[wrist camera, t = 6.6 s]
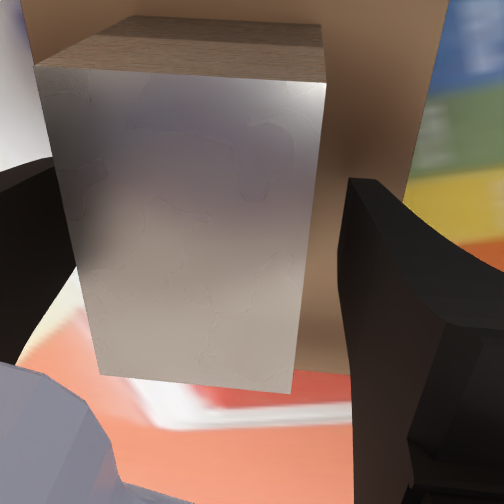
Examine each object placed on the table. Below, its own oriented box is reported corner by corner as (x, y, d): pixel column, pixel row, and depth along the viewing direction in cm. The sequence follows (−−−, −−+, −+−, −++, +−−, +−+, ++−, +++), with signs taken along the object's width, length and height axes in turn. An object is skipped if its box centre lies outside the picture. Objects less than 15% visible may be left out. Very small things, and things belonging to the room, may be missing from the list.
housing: (296, 266, 15) (290, 394, 11) (155, 254, 15) (99, 374, 11) (321, 24, 11) (326, 83, 7) (132, 14, 12) (32, 65, 7)
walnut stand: (357, 337, 19) (361, 376, 18) (114, 315, 20) (96, 350, 18) (472, -208, 10) (503, -232, 9) (20, -215, 11) (-32, -239, 9)
